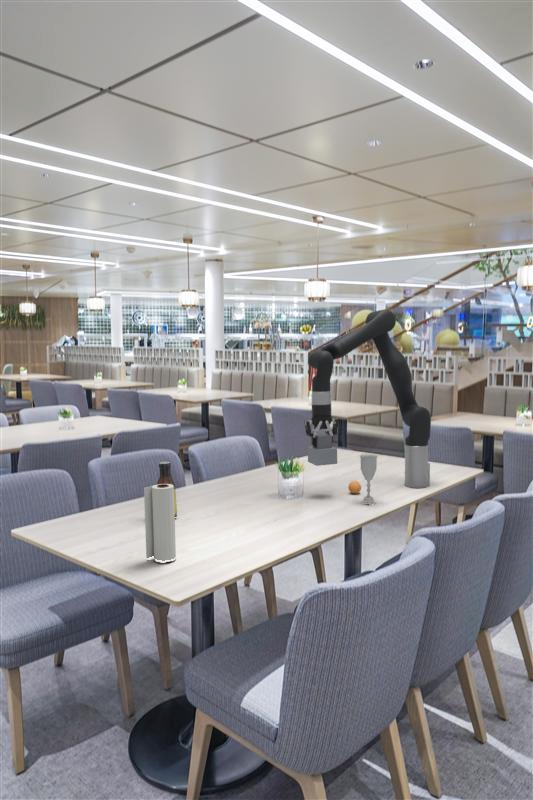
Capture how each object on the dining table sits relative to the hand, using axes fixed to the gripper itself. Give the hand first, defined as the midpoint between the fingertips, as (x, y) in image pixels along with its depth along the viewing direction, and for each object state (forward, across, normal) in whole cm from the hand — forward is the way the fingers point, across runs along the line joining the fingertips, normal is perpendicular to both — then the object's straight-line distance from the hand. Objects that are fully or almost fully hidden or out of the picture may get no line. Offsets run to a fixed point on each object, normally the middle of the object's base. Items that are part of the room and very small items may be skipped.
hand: (322, 446), depth 239 cm
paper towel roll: (+20, +70, +48) cm, 87 cm away
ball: (+18, -14, 0) cm, 22 cm away
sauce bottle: (+20, +62, +8) cm, 65 cm away
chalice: (+20, -12, +15) cm, 28 cm away
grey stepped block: (+6, 0, 0) cm, 6 cm away
